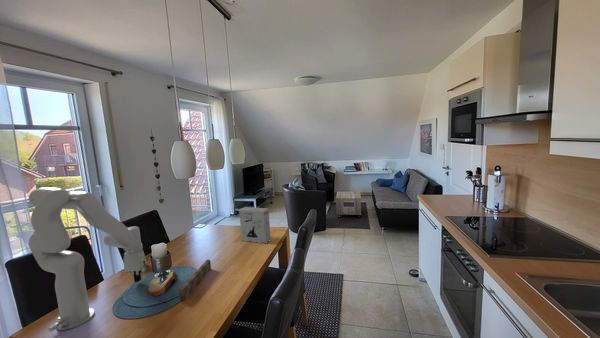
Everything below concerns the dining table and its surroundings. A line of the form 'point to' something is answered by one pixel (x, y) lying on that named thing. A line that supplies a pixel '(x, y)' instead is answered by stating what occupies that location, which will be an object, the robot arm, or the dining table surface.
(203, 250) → the dining table surface
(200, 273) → the walnut board
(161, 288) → the bread slice
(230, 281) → the dining table surface
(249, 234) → the cereal box
